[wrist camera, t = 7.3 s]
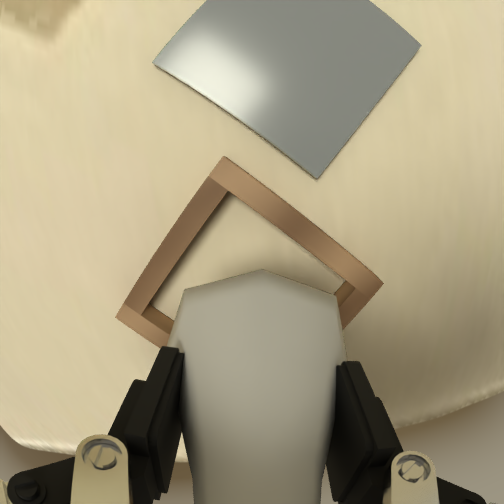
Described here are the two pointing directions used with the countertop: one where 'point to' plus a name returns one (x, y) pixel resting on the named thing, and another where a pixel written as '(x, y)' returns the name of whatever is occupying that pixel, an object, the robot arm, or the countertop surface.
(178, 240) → the square wooden frame
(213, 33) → the slate tile
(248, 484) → the flask
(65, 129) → the countertop surface
